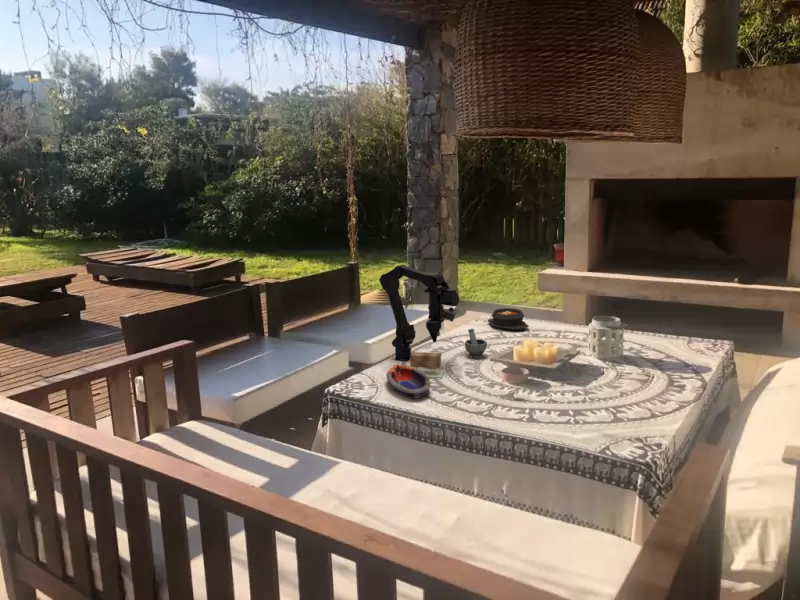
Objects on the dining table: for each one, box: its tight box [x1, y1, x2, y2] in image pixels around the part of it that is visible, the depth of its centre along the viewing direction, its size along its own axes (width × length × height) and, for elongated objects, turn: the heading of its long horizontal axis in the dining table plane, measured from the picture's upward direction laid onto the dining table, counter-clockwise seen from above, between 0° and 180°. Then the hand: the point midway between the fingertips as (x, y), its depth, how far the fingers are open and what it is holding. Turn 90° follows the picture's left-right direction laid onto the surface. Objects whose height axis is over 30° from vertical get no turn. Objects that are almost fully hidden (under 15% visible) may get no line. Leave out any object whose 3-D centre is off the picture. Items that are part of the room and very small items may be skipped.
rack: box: [412, 367, 445, 380], centre depth 267 cm, size 14×9×4 cm, turn 81°
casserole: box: [487, 307, 530, 330], centre depth 339 cm, size 25×19×8 cm
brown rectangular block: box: [409, 351, 442, 369], centre depth 266 cm, size 12×4×5 cm, turn 76°
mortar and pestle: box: [464, 328, 488, 360], centre depth 289 cm, size 11×9×12 cm
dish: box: [385, 364, 431, 399], centre depth 253 cm, size 16×31×5 cm, turn 14°
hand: (435, 339), depth 276 cm, fingers open, 9 cm apart
